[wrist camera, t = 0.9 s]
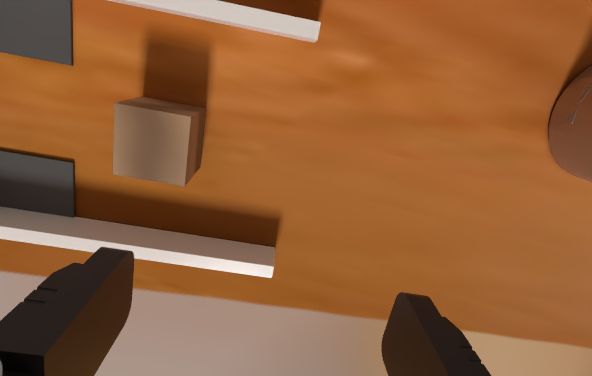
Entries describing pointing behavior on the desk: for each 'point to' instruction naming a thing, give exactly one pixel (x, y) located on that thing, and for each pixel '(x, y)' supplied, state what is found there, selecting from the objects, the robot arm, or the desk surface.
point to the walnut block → (157, 140)
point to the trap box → (60, 174)
